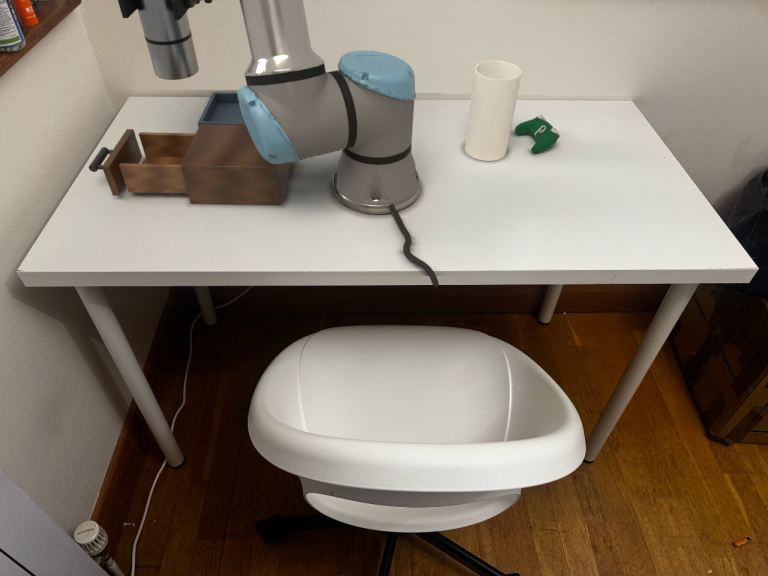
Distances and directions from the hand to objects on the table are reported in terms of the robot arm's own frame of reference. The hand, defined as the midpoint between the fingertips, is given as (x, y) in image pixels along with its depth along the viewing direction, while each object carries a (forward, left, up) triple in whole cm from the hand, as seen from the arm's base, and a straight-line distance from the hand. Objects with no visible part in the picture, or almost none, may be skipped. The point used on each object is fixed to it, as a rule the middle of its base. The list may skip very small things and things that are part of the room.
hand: (149, 9), depth 84 cm
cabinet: (-10, -5, -28) cm, 30 cm away
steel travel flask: (+3, -4, -11) cm, 13 cm away
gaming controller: (-38, -56, -28) cm, 73 cm away
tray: (+10, -18, -28) cm, 35 cm away
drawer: (+1, +6, -27) cm, 28 cm away
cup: (-33, -46, -28) cm, 63 cm away
